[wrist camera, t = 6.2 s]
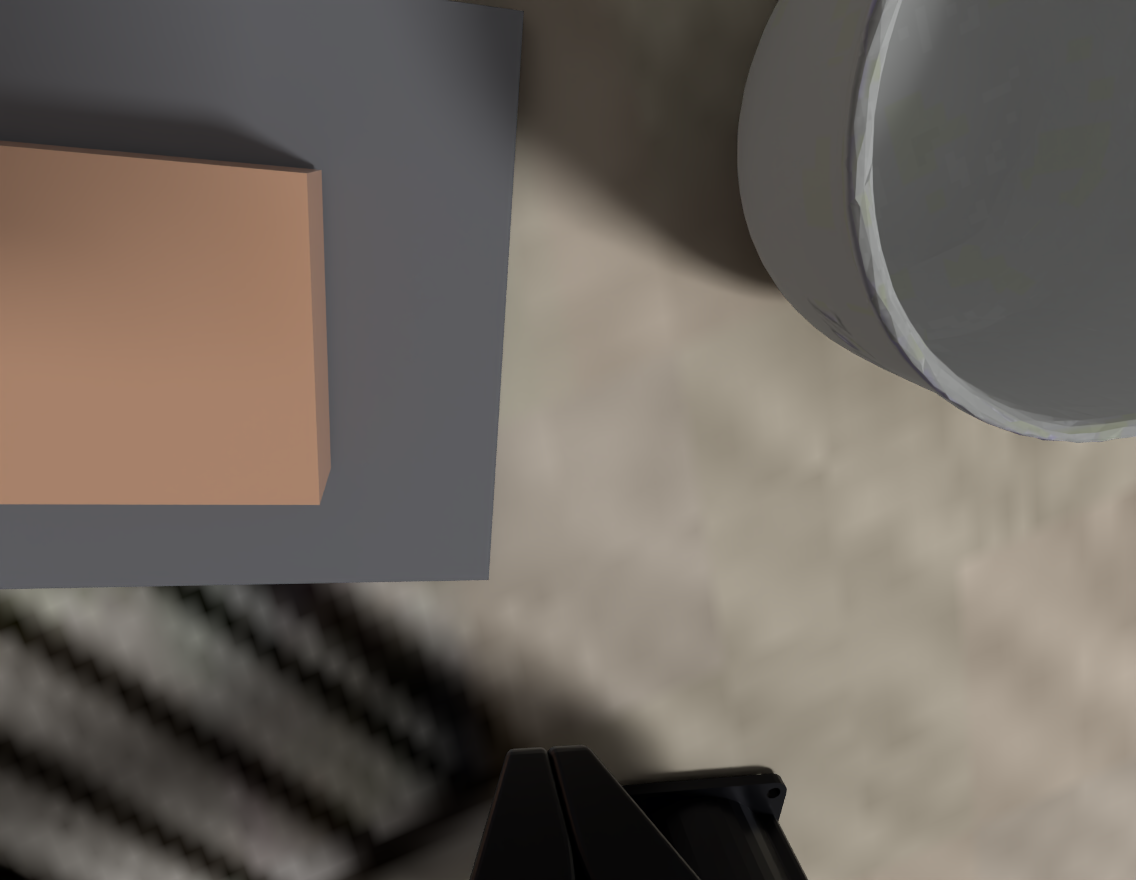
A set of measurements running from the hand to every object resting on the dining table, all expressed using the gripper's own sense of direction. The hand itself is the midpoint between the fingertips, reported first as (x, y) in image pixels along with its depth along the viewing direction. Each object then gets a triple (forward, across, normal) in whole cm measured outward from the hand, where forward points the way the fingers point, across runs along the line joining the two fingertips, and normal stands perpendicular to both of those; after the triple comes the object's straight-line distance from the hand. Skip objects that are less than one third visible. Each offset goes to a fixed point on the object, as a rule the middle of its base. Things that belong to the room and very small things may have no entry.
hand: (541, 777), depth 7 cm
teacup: (+12, -12, -8) cm, 19 cm away
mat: (+12, +8, -2) cm, 14 cm away
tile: (+10, +4, -2) cm, 11 cm away
